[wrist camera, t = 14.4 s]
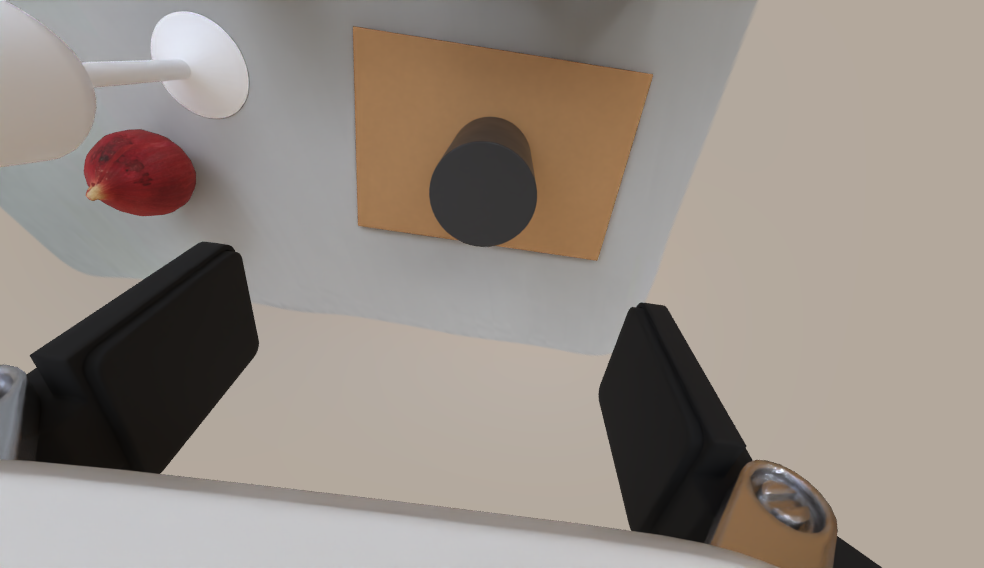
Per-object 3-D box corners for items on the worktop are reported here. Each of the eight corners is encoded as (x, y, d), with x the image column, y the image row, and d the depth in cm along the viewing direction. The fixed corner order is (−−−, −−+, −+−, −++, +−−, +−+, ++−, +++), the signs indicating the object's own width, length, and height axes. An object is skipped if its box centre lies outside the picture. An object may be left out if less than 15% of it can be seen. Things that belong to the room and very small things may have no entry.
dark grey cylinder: (447, 192, 32) (425, 239, 24) (454, 110, 29) (432, 133, 21) (523, 204, 32) (526, 253, 24) (538, 123, 29) (547, 150, 21)
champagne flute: (250, 32, 28) (-547, -17, 7) (248, 131, 31) (-298, 304, 10) (145, -6, 27) (-1122, -192, 6) (154, 100, 30) (-650, 218, 9)
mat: (360, 223, 34) (357, 225, 34) (355, 26, 27) (352, 26, 27) (596, 257, 35) (597, 260, 34) (650, 74, 28) (653, 74, 27)
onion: (136, 113, 31) (25, 131, 24) (216, 134, 31) (130, 158, 24) (148, 187, 33) (52, 223, 26) (221, 205, 34) (146, 245, 27)
